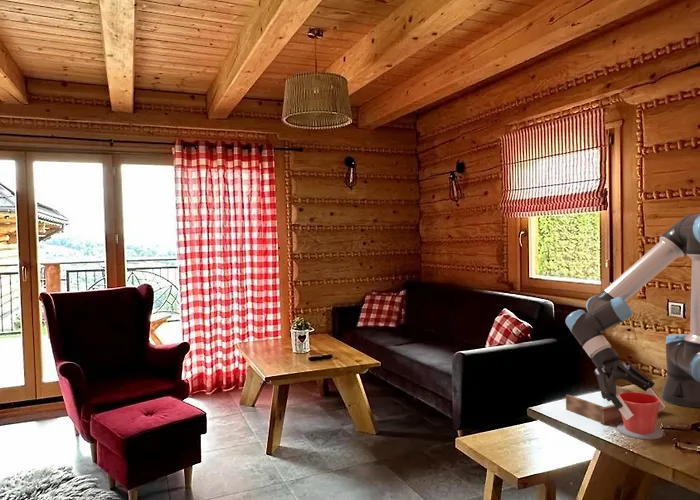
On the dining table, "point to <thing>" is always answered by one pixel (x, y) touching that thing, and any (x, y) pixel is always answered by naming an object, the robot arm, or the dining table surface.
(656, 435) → the slate mat
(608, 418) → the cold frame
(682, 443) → the dining table surface
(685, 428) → the dining table surface
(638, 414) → the flower pot
